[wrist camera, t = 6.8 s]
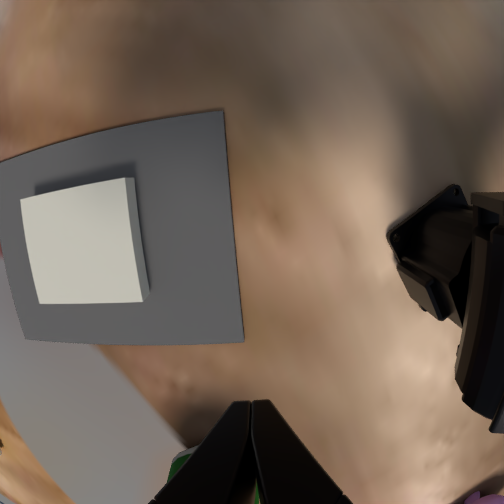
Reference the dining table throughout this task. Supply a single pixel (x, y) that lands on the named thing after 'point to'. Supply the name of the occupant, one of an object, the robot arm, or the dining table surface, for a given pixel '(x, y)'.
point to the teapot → (484, 499)
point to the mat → (151, 229)
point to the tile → (86, 244)
